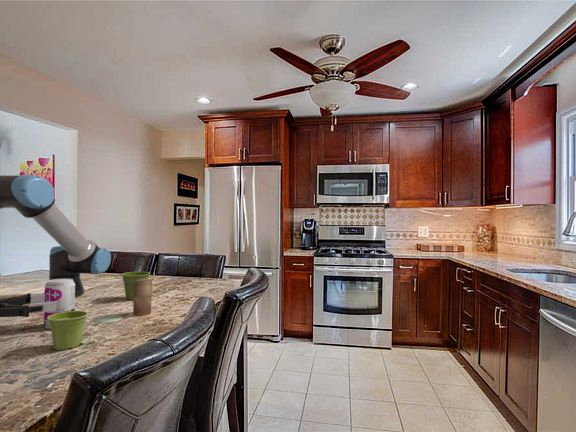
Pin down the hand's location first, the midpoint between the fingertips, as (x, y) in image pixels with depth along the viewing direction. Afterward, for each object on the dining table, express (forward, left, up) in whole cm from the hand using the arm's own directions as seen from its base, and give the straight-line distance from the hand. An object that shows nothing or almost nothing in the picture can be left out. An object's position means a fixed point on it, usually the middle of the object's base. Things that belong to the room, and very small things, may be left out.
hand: (55, 301), depth 106 cm
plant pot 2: (-26, +30, -9) cm, 41 cm away
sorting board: (+5, +20, -8) cm, 22 cm away
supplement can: (0, +1, -9) cm, 9 cm away
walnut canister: (+5, +26, -7) cm, 27 cm away
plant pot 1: (+22, +2, -9) cm, 23 cm away
